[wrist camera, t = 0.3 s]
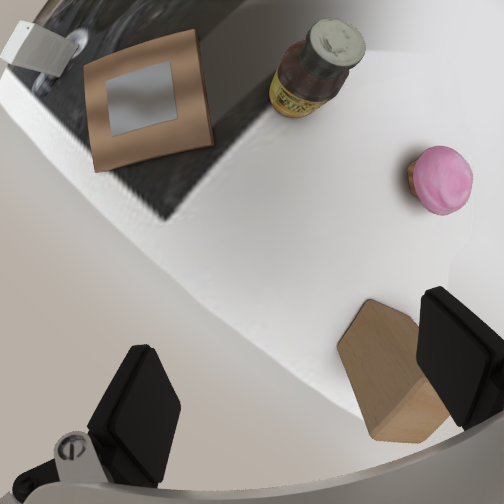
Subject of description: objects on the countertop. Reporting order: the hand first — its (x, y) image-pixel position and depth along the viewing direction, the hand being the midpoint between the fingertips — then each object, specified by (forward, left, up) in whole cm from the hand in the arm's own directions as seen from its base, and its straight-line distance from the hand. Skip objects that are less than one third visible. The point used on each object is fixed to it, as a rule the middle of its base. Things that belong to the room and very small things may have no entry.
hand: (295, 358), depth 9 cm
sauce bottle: (-14, +6, -31) cm, 34 cm away
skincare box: (-30, -27, -31) cm, 51 cm away
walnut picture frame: (-17, -13, -31) cm, 37 cm away
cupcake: (-2, +23, -31) cm, 39 cm away
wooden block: (+22, +15, -31) cm, 41 cm away
